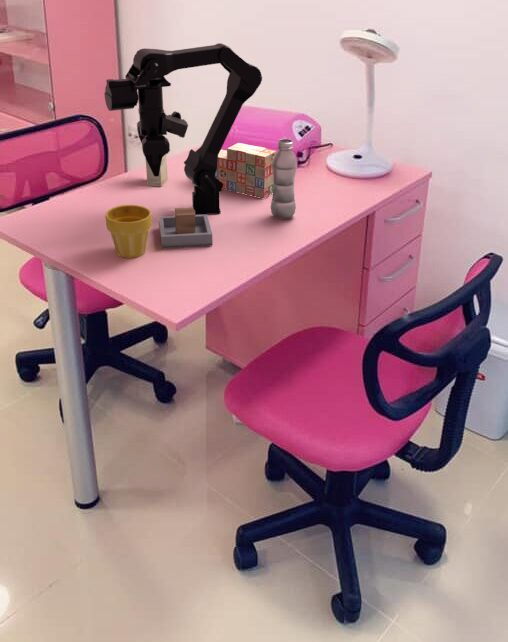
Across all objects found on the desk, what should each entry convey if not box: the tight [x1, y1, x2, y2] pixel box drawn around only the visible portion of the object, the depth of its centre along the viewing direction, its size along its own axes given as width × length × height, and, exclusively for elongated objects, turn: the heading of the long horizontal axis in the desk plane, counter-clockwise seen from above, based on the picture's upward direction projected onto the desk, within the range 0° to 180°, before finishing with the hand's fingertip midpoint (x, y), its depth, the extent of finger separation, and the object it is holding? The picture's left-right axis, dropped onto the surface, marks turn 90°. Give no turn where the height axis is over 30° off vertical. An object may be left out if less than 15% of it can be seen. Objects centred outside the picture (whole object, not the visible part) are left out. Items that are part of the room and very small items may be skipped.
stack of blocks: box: [215, 142, 277, 199], centre depth 202 cm, size 21×6×12 cm, turn 58°
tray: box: [158, 214, 214, 249], centre depth 176 cm, size 12×12×3 cm
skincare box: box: [145, 154, 169, 187], centre depth 205 cm, size 6×4×12 cm
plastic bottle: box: [270, 138, 298, 220], centre depth 183 cm, size 6×7×20 cm
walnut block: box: [174, 206, 196, 234], centre depth 175 cm, size 4×4×6 cm
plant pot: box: [104, 204, 153, 259], centre depth 166 cm, size 10×10×10 cm
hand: (154, 169), depth 179 cm, fingers open, 9 cm apart
